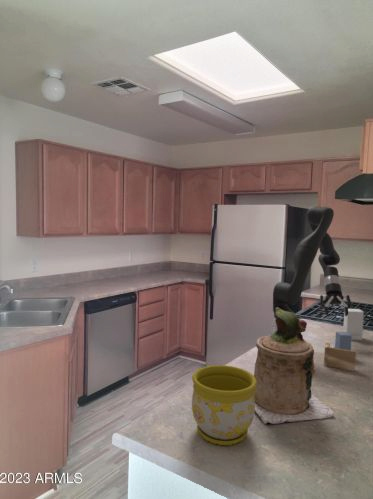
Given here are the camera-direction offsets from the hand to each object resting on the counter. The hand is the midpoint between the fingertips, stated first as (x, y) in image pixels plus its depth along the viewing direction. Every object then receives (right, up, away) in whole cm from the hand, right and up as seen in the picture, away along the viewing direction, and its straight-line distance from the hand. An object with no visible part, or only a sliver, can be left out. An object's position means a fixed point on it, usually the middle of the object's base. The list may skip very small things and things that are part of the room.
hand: (336, 315), depth 178 cm
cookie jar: (-41, -20, -55) cm, 71 cm away
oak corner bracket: (-7, -18, -18) cm, 26 cm away
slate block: (-2, -17, -10) cm, 20 cm away
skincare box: (+15, -16, +17) cm, 28 cm away
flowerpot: (-63, -21, -73) cm, 99 cm away
